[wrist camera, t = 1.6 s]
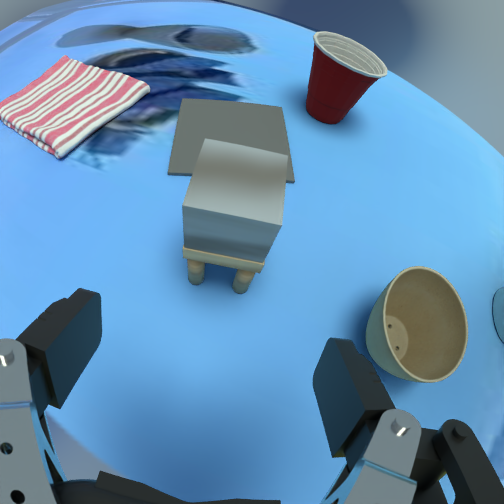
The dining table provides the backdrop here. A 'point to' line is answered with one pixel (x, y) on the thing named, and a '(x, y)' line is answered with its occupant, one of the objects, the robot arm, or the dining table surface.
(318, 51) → the plastic cup
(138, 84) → the dish towel
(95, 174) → the dining table surface
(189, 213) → the stool
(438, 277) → the flower pot
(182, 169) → the mat
